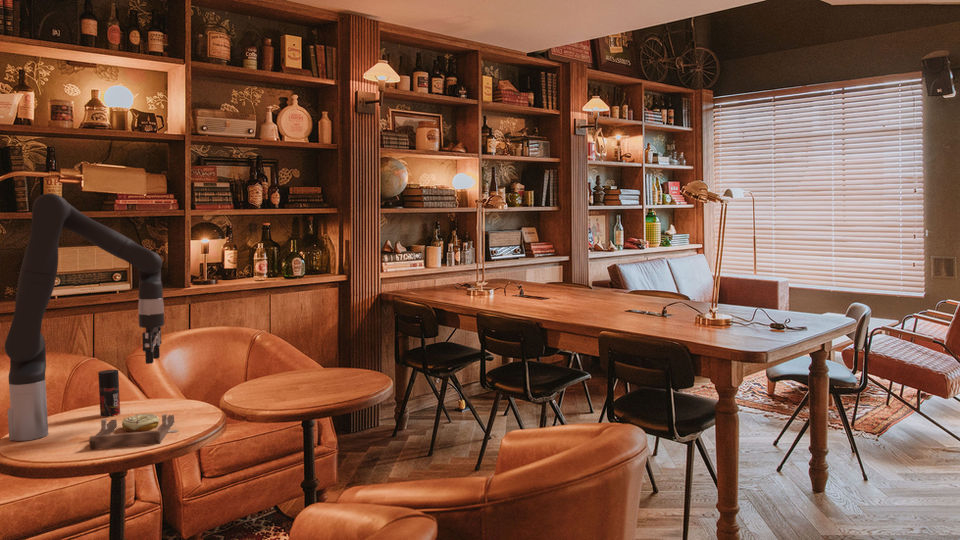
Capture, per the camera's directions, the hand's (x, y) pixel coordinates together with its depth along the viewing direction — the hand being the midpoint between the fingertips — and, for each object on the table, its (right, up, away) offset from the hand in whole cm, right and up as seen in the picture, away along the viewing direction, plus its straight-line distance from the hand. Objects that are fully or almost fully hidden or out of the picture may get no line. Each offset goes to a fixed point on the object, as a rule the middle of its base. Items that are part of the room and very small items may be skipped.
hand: (152, 360), depth 217 cm
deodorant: (-19, -20, +9) cm, 29 cm away
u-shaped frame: (+2, -21, -15) cm, 26 cm away
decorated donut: (0, -21, -7) cm, 22 cm away
